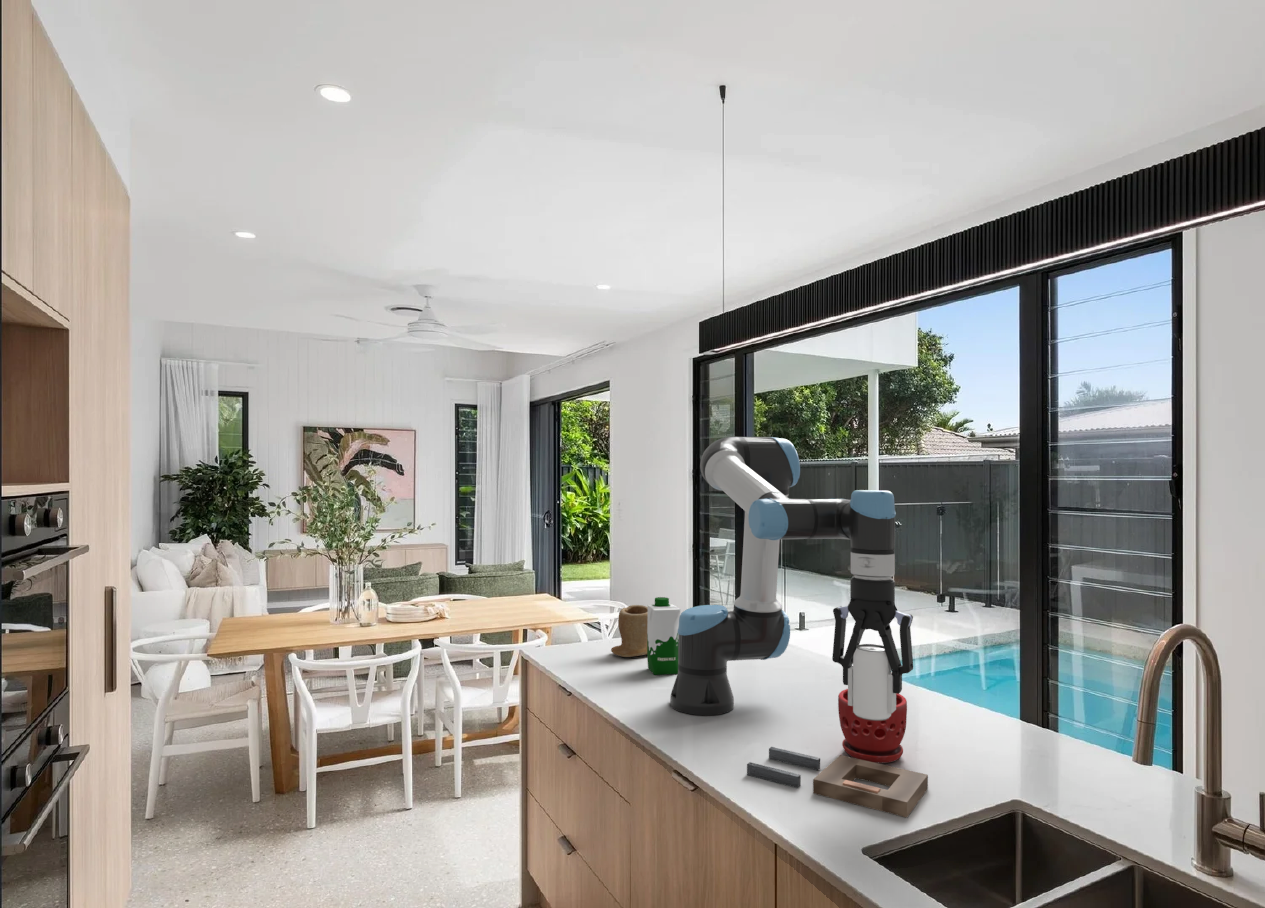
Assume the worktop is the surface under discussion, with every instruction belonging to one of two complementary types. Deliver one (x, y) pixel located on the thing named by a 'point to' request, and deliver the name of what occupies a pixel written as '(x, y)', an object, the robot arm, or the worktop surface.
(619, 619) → the brown boot
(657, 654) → the milk carton
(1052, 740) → the worktop surface
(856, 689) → the can
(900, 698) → the plant pot
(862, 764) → the plate
